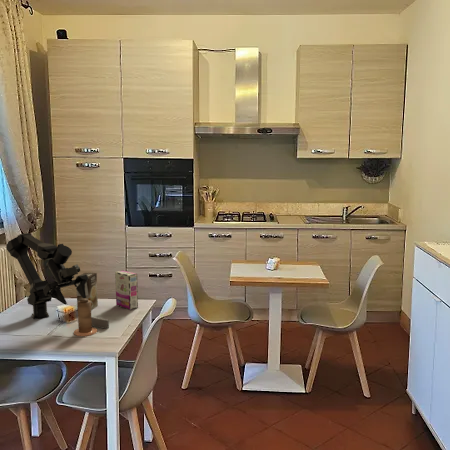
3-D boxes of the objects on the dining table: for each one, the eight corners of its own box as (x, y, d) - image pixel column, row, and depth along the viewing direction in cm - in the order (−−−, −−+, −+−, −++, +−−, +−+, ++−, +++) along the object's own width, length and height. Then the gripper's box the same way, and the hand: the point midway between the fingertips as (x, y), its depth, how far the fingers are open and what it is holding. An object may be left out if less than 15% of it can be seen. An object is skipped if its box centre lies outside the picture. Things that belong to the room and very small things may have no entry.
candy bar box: (138, 307, 225) (137, 273, 223) (130, 310, 222) (129, 275, 219) (124, 302, 233) (123, 269, 230) (115, 305, 229) (114, 271, 227)
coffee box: (90, 311, 220) (88, 277, 217) (77, 311, 221) (75, 277, 218) (98, 305, 229) (96, 272, 226) (85, 305, 230) (84, 272, 227)
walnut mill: (80, 328, 197) (79, 297, 195) (93, 328, 197) (92, 297, 195) (77, 333, 192) (75, 301, 190) (90, 332, 192) (88, 301, 190)
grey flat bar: (86, 324, 203) (86, 316, 202) (88, 324, 204) (87, 316, 203) (107, 328, 198) (107, 320, 198) (109, 328, 199) (108, 319, 199)
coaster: (72, 330, 196) (71, 329, 196) (94, 326, 201) (94, 325, 200) (76, 337, 189) (76, 336, 188) (99, 333, 193) (99, 332, 193)
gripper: (45, 263, 189) (63, 295, 185) (85, 255, 204) (102, 285, 199) (35, 279, 195) (52, 311, 190) (74, 270, 210) (91, 299, 205)
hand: (75, 301), depth 196 cm, fingers open, 9 cm apart
